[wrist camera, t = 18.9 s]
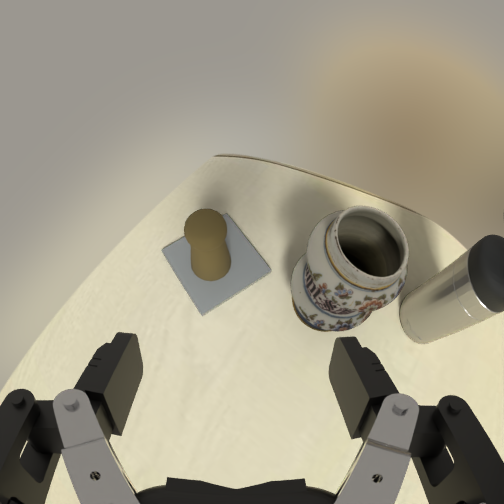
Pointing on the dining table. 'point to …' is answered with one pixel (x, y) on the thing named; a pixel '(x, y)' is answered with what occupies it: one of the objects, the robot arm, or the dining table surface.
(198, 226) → the brown pawn
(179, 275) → the slate tile
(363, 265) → the apothecary jar
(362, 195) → the dining table surface
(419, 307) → the robot arm
